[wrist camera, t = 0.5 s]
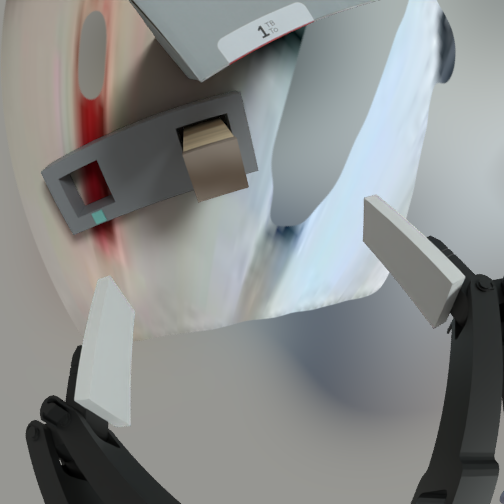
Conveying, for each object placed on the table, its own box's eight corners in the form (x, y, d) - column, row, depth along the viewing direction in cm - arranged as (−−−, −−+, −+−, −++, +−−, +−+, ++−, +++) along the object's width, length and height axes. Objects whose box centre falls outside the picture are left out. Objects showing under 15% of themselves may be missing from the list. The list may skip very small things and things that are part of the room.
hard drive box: (189, 81, 28) (194, 87, 13) (154, 36, 24) (116, -6, 8) (296, 22, 26) (401, -5, 10) (264, -22, 21) (344, -87, 6)
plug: (183, 126, 32) (182, 154, 21) (219, 116, 32) (237, 138, 22) (193, 159, 34) (198, 202, 24) (227, 148, 35) (248, 187, 24)
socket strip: (51, 163, 29) (40, 172, 26) (235, 90, 30) (240, 92, 27) (80, 222, 35) (73, 235, 32) (252, 161, 36) (258, 171, 34)
